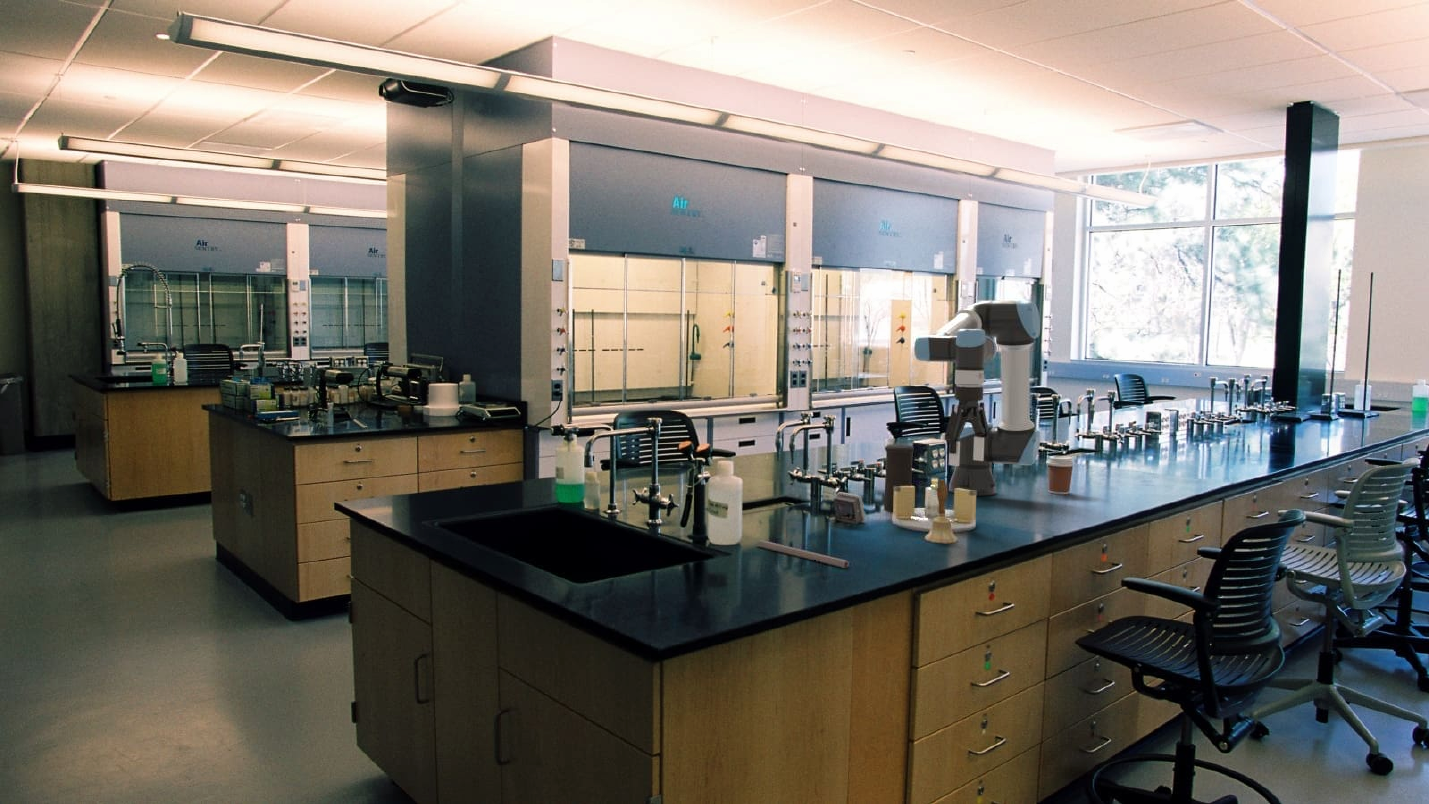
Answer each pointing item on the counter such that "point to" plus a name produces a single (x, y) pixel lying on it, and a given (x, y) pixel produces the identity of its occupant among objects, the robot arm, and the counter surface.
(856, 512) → the electrical switch
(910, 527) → the levelling plate
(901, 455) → the container
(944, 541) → the hand bell
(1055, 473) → the coffee cup
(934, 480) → the brass knob
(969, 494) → the tan upright block
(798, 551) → the grey tube
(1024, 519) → the counter surface
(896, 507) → the tan upright block
